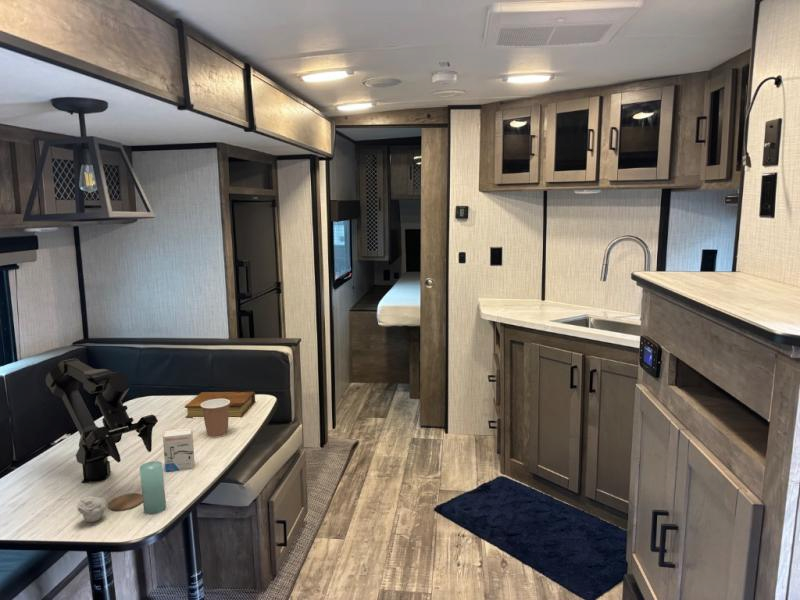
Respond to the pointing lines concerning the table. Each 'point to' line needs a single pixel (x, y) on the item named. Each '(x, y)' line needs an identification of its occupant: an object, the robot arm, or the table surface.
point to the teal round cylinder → (152, 487)
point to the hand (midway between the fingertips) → (135, 456)
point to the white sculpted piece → (92, 508)
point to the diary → (238, 400)
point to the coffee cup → (216, 416)
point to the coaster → (125, 502)
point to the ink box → (178, 449)
